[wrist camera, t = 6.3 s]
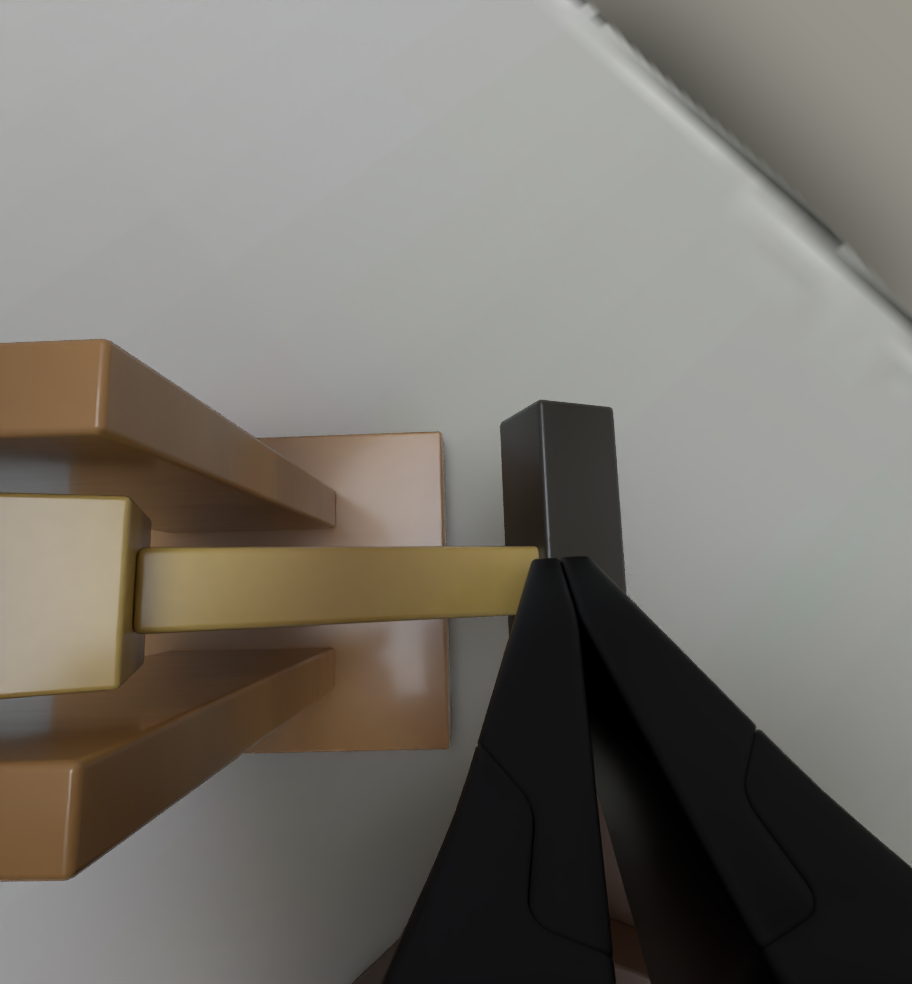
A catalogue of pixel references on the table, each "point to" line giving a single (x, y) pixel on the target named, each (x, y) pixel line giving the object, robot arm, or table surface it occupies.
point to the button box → (623, 933)
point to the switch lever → (286, 564)
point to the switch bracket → (206, 654)
